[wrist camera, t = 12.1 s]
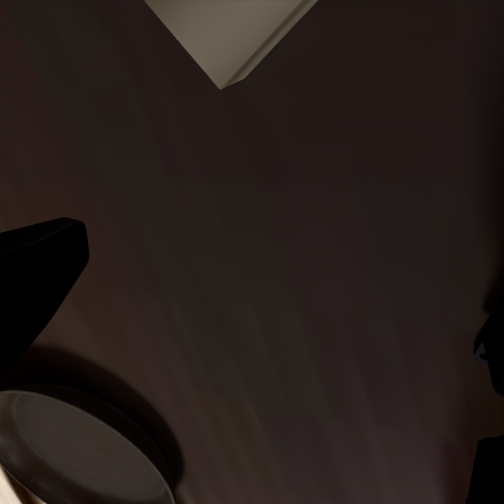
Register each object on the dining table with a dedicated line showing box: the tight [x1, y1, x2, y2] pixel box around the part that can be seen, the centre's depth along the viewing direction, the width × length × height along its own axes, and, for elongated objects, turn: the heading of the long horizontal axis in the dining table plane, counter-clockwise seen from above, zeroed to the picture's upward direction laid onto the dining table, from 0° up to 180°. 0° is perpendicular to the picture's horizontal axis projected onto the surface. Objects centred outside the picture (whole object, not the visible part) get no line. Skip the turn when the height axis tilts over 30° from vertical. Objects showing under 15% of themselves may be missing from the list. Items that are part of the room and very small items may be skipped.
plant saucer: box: [0, 384, 176, 504], centre depth 40 cm, size 21×21×3 cm
